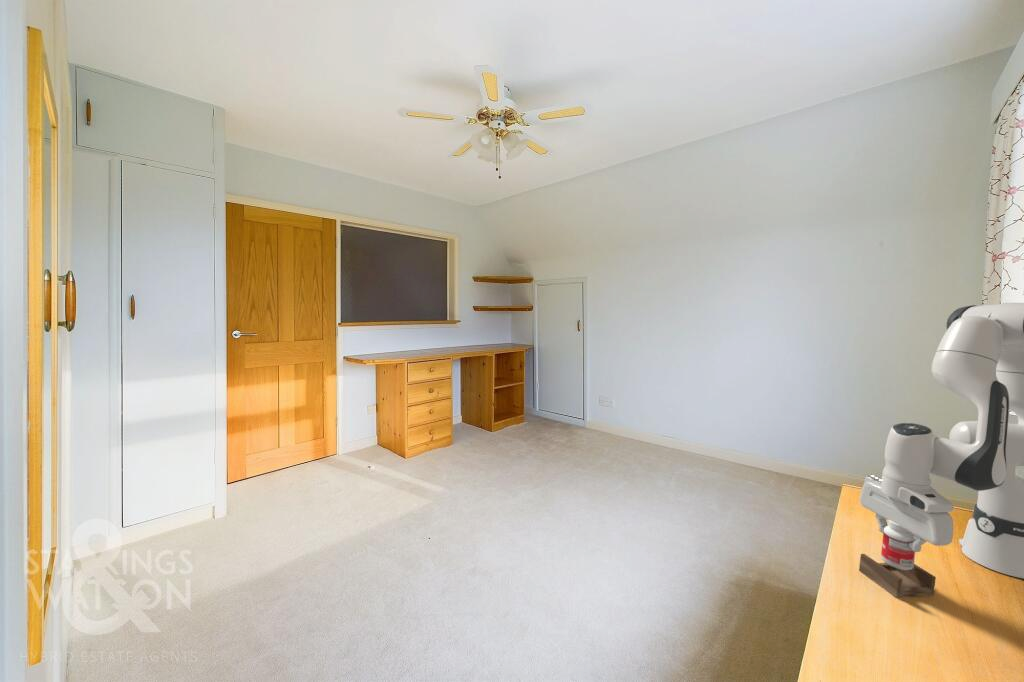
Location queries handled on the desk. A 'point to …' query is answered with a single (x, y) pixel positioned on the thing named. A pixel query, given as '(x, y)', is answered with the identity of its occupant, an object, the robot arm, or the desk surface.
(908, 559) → the pill bottle
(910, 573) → the cradle
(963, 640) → the desk surface
